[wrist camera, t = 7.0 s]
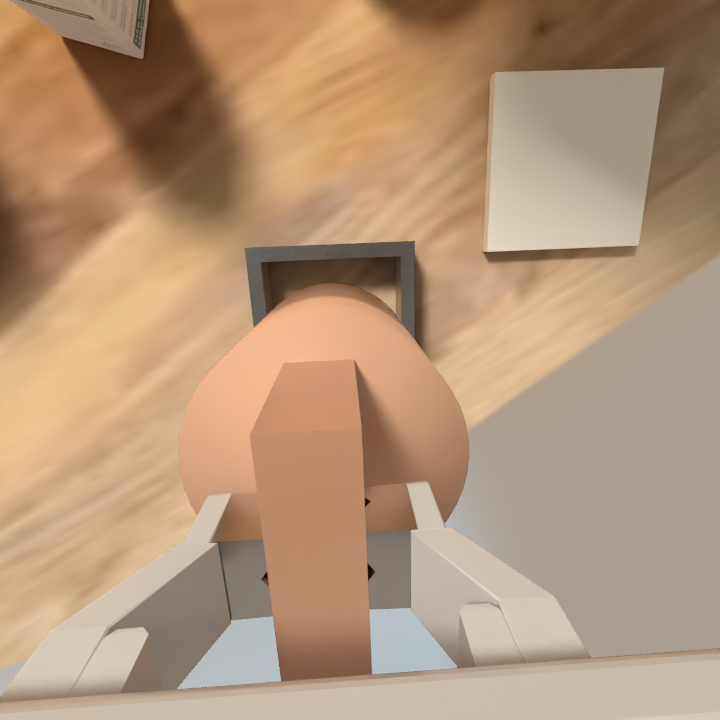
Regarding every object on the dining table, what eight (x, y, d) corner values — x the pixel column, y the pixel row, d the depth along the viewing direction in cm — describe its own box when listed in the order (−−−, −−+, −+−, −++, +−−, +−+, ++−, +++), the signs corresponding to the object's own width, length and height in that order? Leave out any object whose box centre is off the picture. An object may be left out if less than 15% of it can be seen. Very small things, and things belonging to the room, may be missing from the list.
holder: (253, 247, 31) (244, 247, 28) (407, 241, 32) (414, 241, 29) (269, 393, 34) (262, 406, 32) (408, 385, 35) (414, 398, 32)
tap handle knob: (245, 286, 20) (35, 386, 6) (409, 279, 20) (555, 359, 6) (263, 436, 22) (138, 749, 8) (410, 428, 22) (518, 719, 9)
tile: (490, 77, 29) (495, 71, 28) (653, 73, 29) (664, 67, 28) (482, 251, 32) (487, 251, 31) (629, 245, 32) (638, 245, 32)
